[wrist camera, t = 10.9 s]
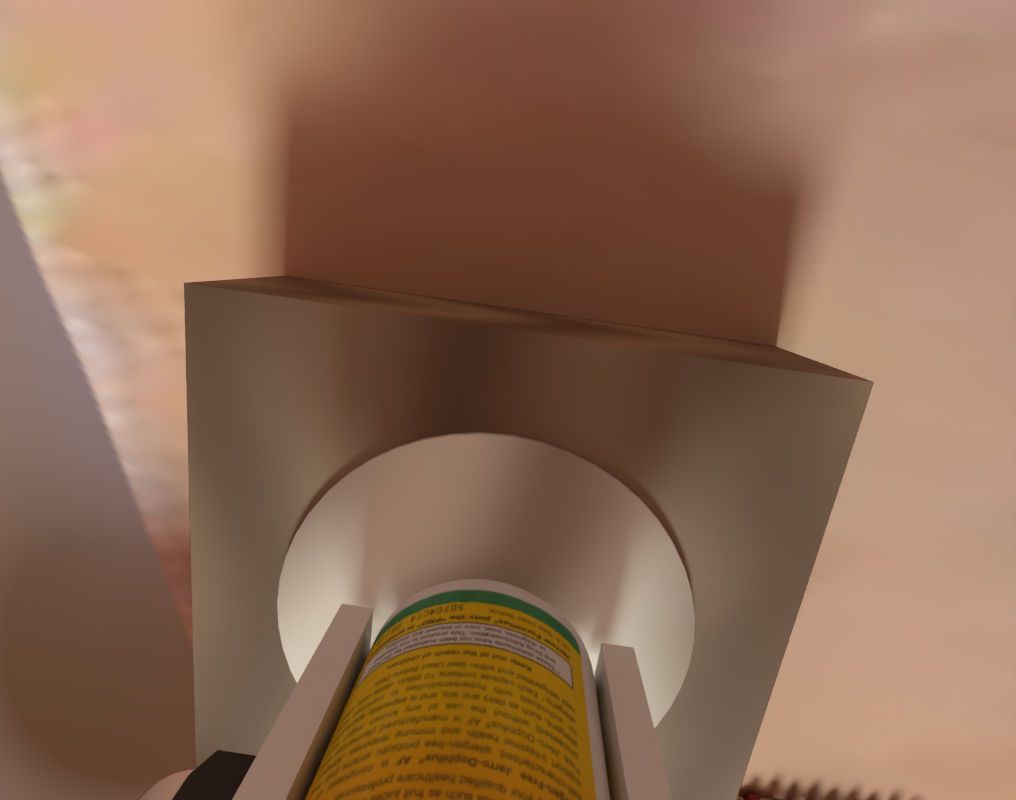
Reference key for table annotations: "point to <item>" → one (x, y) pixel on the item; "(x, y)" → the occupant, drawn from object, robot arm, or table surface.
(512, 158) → the table surface
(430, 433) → the walnut plinth
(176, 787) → the candle holder
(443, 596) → the supplement bottle
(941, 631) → the table surface
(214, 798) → the robot arm
